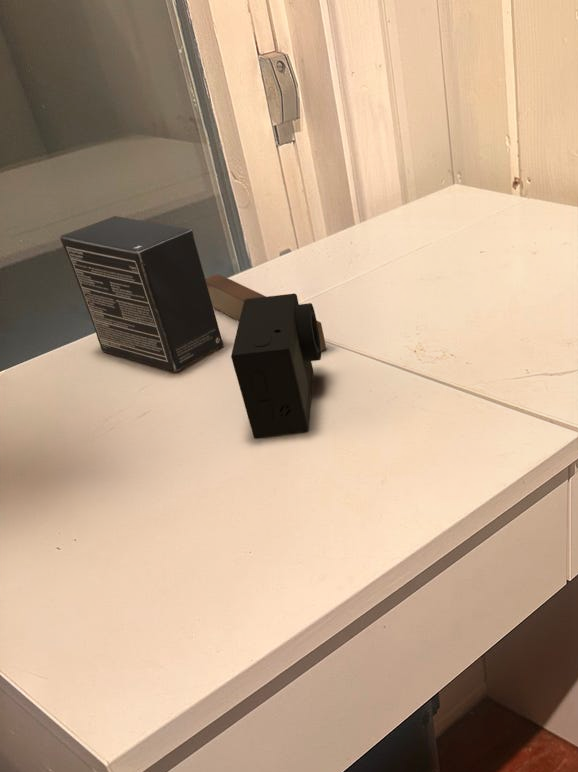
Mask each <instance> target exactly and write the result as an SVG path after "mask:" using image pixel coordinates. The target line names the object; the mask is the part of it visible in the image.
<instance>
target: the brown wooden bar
mask: <svg viewBox="0 0 578 772" xmlns="http://www.w3.org/2000/svg"><path fill="white" fill-rule="evenodd" d="M205 280H206V284H207V288H208V291H209V295H210V298H211V302H212V306H213V309H215V310H217V311H219V312H221V313H223V314H225V315H226V316H229V317H231V318H232V319H235V320H237V321H238V322H239V320H240V316H241V312H242V308H243V304H244V300H245V299H251V298H260V297H267V296H266V295H264V294H262V293H259V292H258V291H256V290H253V289H251V288H249V287H247V286H245V285H243V284H241V283H238V282H237V281H234V280H233V279H230V278H229V277H226V276H224V275H223V274H220V273H218V274H214V275H212V276H210V277H209V276H208V277H207V278H206V277H205ZM317 325H318V331H319V337H320V345H321V352H323V351H325V350H327V345H326V340H325V335H324V331H323V330H324V329H323V325H322V322H321V321H319V320H317Z"/></svg>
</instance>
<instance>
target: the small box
mask: <svg viewBox="0 0 578 772" xmlns="http://www.w3.org/2000/svg"><path fill="white" fill-rule="evenodd" d="M59 240H60V242H61V244H62V247H63V249H64V251H65V253H66V256H67V258H68V260H69V263H70V267H71V268H72V271H73V273H74V277H75V279H76V283H77V285H78V287H79V290H80V293H81V295H82V299H83V301H84V305H85V306H86V309H87V312H88V314H89V318H90V320H91V323H92V325H93V329H94V333H95V334H96V338H97V341H98V343H99V346H100V349H101V351H102V352H104V353H108V354H111V355H115V356H118V357H122V358H124V359H125V358H126V359H127V360H132V361H134V362H135V361H136V362H139V363H142V364H146V365H150V366H153V367H156V368H159V369H164V370H167V371H171V372H174V373H175V372H178V371H179V370H182V369H183V368H184V367H187V366H188V365H190V364H192V363H193V362H194V363H195V362H196V361H197V360H199V359H200V358H202V357H204V356H206V355H208V354H210V353H212V352H214V351H216V350H217V349H219V348H221V347H223V346H224V342H223V341H224V340H223V339H222V335H221V331H220V328H219V324H218V321H217V317H216V313H215V310H214V309H215V308H213V306H212V302H211V298H210V295H209V291H208V288H207V284H206V280H205V279H206V277H205V273H204V269H203V265H202V262H201V259H200V255H199V251H198V248H197V245H196V241H195V237H194V232H193V230H192V229H191V228H187V227H186V228H185V227H180V226H174V225H169V224H162V223H157V222H153V221H152V222H151V221H145V220H141V219H140V220H139V219H135V218H129V217H123V216H117V215H113V216H111V217H107V218H106V219H103V220H101V221H98V222H95V223H92V224H90V225H87V226H84V227H81V228H78V229H75V230H73V231H70V232H67V233H64V234H61V235H60V236H59Z"/></svg>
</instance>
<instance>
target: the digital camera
mask: <svg viewBox="0 0 578 772" xmlns="http://www.w3.org/2000/svg"><path fill="white" fill-rule="evenodd" d="M317 321H318V320H317V316H316V311H315V308H314V305H313V303H312V302H308V303H302V304H300V303H299V299H298V295H297V293H288V294H287V293H286V294H278V295H270V296H266V297H260V298H251V299H245V300H244V304H243V308H242V312H241V316H240V320H239V321H238V325H237V328H236V333H235V337H234V342H233V346H232V351H231V355H230V357H231V358H230V359H231V361H232V362H231V363H232V365H233V369H234V372H235V376H236V379H237V383H238V387H239V390H240V394H241V397H242V401H243V405H244V408H245V411H246V414H247V418H248V422H249V425H250V429H251V432H252V436H253V438H254V439H258V438H264V437H273V436H281V435H290V434H298V433H305V432H308V431H309V427H310V426H309V425H310V416H311V415H310V414H311V402H312V393H313V392H312V391H313V381H314V380H313V379H314V367H313V364H312V363H313V362H314V361H315V362H316V361H321V360H322V351H321V345H320V337H319V331H318V325H317Z"/></svg>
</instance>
